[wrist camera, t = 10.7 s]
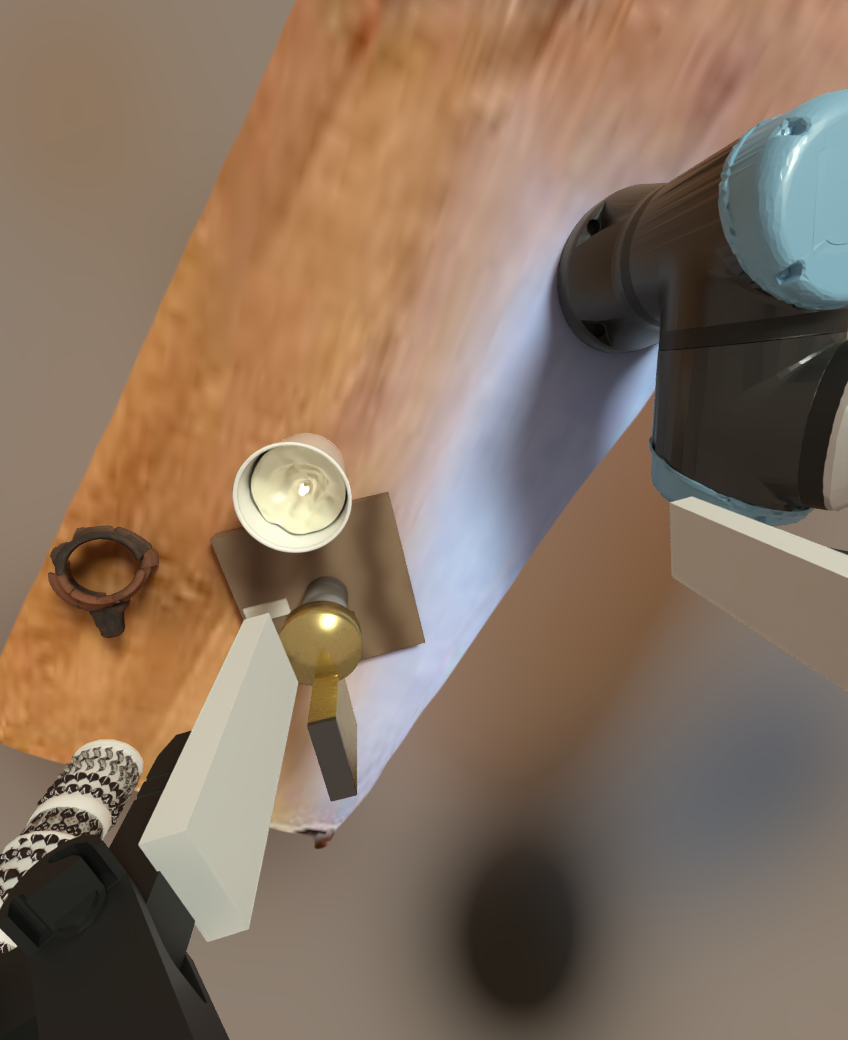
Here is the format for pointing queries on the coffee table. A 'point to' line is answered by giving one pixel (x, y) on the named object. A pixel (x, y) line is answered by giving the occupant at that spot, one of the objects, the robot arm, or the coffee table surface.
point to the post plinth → (331, 577)
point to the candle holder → (294, 493)
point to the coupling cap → (327, 685)
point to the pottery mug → (98, 604)
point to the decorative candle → (73, 809)
